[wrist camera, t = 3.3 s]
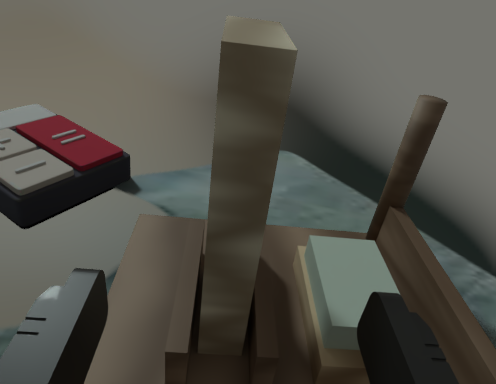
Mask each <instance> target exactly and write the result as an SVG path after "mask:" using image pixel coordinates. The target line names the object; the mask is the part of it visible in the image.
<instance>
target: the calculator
mask: <svg viewBox="0 0 496 384" xmlns="http://www.w3.org/2000/svg"><path fill="white" fill-rule="evenodd" d="M129 179H130V155H129V154H127V153H126V152H124V151H123V150H122V149H121V148H119V147H117V146H116V145H114V144H112V143H110V142H108V141H106V140H105V139H103V138H101V137H99V136H97V135H95V134H93V133H92V132H90V131H88V130H86V129H85V128H83V127H81V126H79V125H77V124H75V123H74V122H72V121H70V120H68V119H66V118H65V117H63V116H60V115H57V114H55V113H53V112H51V111H49V110H48V109H45V108H44V107H42V106H40V105H38V104H33V105H28V106H23V107H19V108H14V109H10V110H6V111H1V112H0V212H1V213H2V214H3V215H5V216H6V217H7V218H8V219H10V220H11V221H12V222H13V223H15V224H16V225H17V226H19V227H20V228H21V229H29V228H31V227H33V226H35V225H38V224H40V223H42V222H44V221H46V220H48V219H51V218H53V217H55V216H57V215H59V214H61V213H63V212H65V211H68V210H70V209H72V208H74V207H76V206H78V205H80V204H82V203H85V202H87V201H89V200H91V199H93V198H95V197H97V196H99V195H101V194H103V193H106V192H108V191H110V190H112V189H114V188H113V187H114V186H116V185H118V184H120V183H122V182H124V181H126V180H129Z"/></svg>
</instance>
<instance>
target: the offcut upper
mask: <svg viewBox="0 0 496 384" xmlns="http://www.w3.org/2000/svg"><path fill="white" fill-rule="evenodd" d="M304 258H305V263H306V267H307V272H308V277H309V281H310V286H311V290H312V295H313V300H314V304H315V309H316V314H317V318H318V323H319V327H320V332H321V337H322V341H323V346H324V348H330V349H348V350H360V348H359V345H358V341H357V326H358V322H359V320H360V318H361V315H362V313H363V311H364V308H365V306H366V304H367V301H368V299H369V297H370V295H371V293H372V292H387V293H398V294H400V293H399V291H398V289H397V287H396V285H395V282H394V280H393V278H392V276H391V274H390V272H389V270H388V268H387V266H386V264H385V262H384V259H383V257H382V255H381V253H380V251H379V249H378V247H377V245H376V243H375V241H373V240H361V239H349V238H337V237H325V236H313V235H309V239H308V243H307V246H306V250H305V254H304Z"/></svg>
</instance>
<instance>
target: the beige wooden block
mask: <svg viewBox="0 0 496 384" xmlns="http://www.w3.org/2000/svg"><path fill="white" fill-rule="evenodd" d="M297 51H298V50H297V49H296V47H295V46H294V44H293V42H292V41H291V39H290V38H289V36H288V35H287V33H286V31H285V30H284V28H283V27H282V25H281V24H280V22H273V21H264V20H257V19H249V18H242V17H234V16H227V19H226V23H225V27H224V32H223V36H222V41H221V53H220V67H219V80H218V93H217V107H216V119H215V132H214V145H213V159H212V171H211V184H210V197H209V210H208V223H207V236H206V249H205V262H204V275H203V288H202V301H201V314H200V327H199V340H198V353H200V354H218V355H236V356H242V350H243V345H244V339H245V334H246V328H247V323H248V318H249V312H250V307H251V301H252V296H253V290H254V285H255V280H256V274H257V269H258V263H259V258H260V252H261V247H262V241H263V236H264V231H265V225H266V220H267V214H268V209H269V203H270V198H271V193H272V187H273V182H274V176H275V171H276V165H277V160H278V154H279V149H280V143H281V138H282V133H283V127H284V122H285V116H286V111H287V105H288V99H289V95H290V89H291V84H292V78H293V73H294V67H295V62H296V56H297Z"/></svg>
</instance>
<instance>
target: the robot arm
mask: <svg viewBox="0 0 496 384" xmlns="http://www.w3.org/2000/svg"><path fill="white" fill-rule="evenodd" d="M107 316H108V298H107V290H106V282H105V274H104V272H103V270H93V269H80V268H76V269H74V270H73V271H72V273H71V275H70V276H69V278H68V280H67V282H66V284H65V286H51V287H50V288H49V289H48V290H47V291H46V292H44V293H43V294H42V295H41V296H40V297H39V298H37V299H36V300H35V302H34V304H33V305H32V307H31V309H30V310H29V312H28V314H27V315H26V319H25V320H23V322H22V324H21V325H20V327H19V329H18V330H17V334H16V335H14V337H13V338H12V340H11V342H10V343H9V345H8V347H7V348H6V350H5V352H4V353H3V355H2V357H1V358H0V384H84V382H85V379H86V376H87V374H88V371H89V368H90V366H91V363H92V360H93V358H94V355H95V352H96V349H97V347H98V344H99V341H100V339H101V336H102V333H103V331H104V328H105V325H106V321H107ZM357 341H358V345H359V348H360V352H361V355H362V358H363V362H364V365H365V368H366V372H367V375H368V378H369V382H370V384H459V382H458V380H457V378H456V376H455V375H454V373H453V371H452V369H451V367H450V365H449V363H448V362H446V357H445V355H444V353H443V351H442V349H441V348H439V343H438V341H437V339H436V337H435V335H434V333H433V332H432V330H431V328H430V327H429V326H428V324H427V323H426V322H425V321H424V320H423V319H422V318H421V317H420V316H419V315H418V314H417V313H415V312H409V310H408V308H407V306H406V304H405V302H404V300H403V298H402V296H401V295H400V294H398V293H387V292H372V293H371V295H370V297H369V299H368V301H367V304H366V306H365V308H364V311H363V313H362V315H361V318H360V320H359V322H358V326H357Z"/></svg>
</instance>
